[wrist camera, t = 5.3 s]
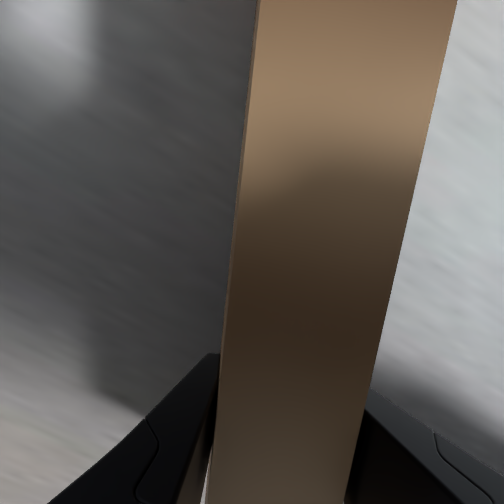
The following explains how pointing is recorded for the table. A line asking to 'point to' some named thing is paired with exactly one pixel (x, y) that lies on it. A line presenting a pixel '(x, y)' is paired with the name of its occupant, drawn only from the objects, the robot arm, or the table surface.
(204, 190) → the table surface
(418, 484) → the robot arm
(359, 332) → the wooden plank
